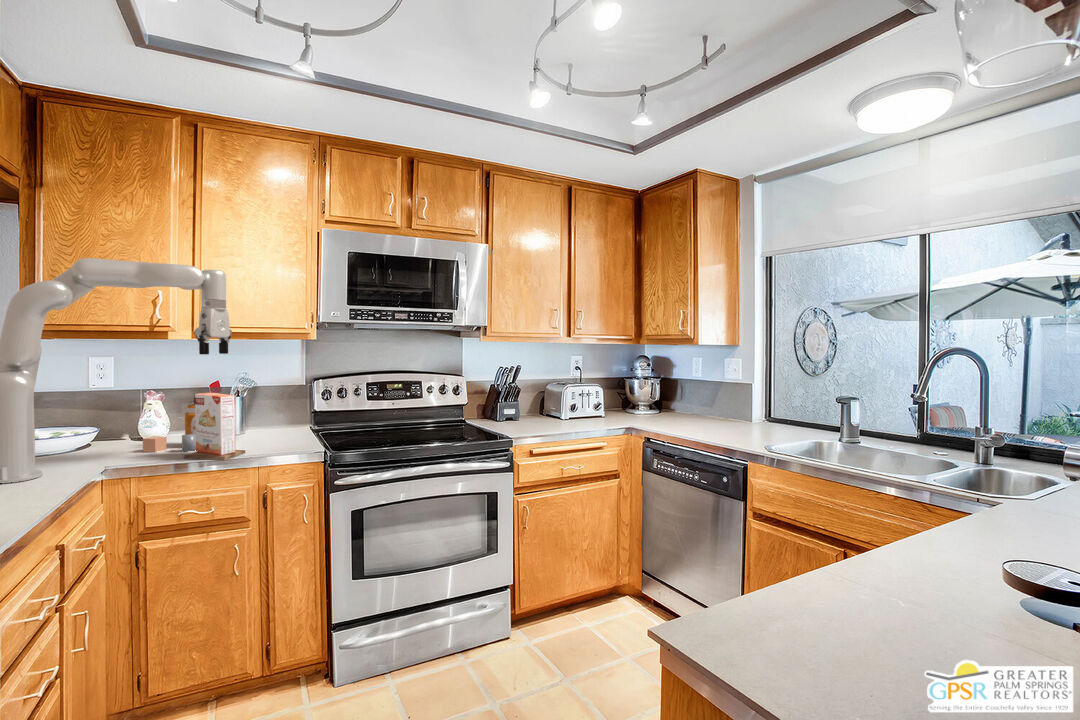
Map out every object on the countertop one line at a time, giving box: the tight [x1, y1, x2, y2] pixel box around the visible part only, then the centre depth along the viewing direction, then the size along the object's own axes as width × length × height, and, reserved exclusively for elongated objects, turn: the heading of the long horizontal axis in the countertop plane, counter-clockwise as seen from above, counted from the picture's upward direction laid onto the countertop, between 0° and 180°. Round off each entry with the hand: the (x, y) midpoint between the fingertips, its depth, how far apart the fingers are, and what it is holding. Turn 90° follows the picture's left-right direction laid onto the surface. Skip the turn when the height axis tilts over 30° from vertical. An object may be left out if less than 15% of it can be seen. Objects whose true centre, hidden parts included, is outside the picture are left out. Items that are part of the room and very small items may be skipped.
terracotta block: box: [142, 435, 167, 453], centre depth 199 cm, size 5×5×5 cm
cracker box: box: [194, 392, 236, 456], centre depth 192 cm, size 14×6×21 cm, turn 64°
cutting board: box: [183, 449, 246, 461], centre depth 193 cm, size 11×15×1 cm
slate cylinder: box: [181, 433, 196, 453], centre depth 200 cm, size 4×4×6 cm
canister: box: [184, 394, 196, 435], centre depth 210 cm, size 9×11×20 cm
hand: (214, 354), depth 191 cm, fingers open, 9 cm apart
